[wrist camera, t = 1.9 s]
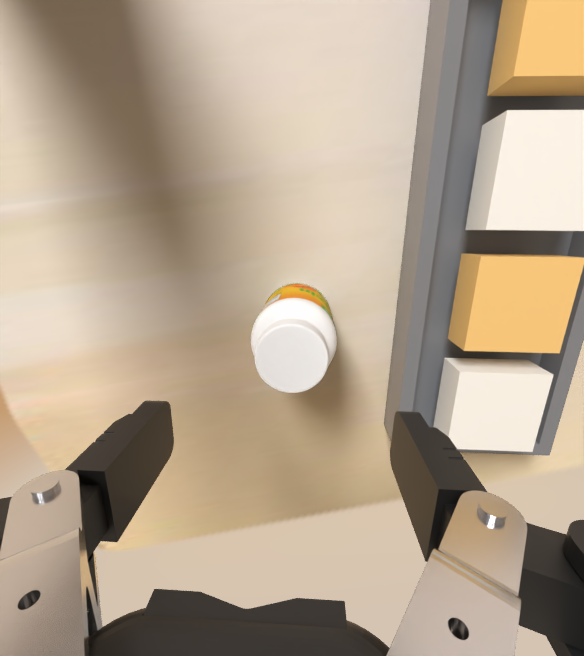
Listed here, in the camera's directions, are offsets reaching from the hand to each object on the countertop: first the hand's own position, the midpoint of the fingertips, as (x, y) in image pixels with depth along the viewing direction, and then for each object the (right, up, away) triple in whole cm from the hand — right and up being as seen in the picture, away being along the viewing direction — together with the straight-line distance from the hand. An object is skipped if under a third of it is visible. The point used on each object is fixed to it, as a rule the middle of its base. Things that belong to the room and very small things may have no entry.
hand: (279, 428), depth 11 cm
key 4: (+15, -2, +13) cm, 20 cm away
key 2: (+15, +13, +9) cm, 21 cm away
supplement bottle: (+1, +5, +15) cm, 16 cm away
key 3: (+15, +6, +11) cm, 19 cm away
